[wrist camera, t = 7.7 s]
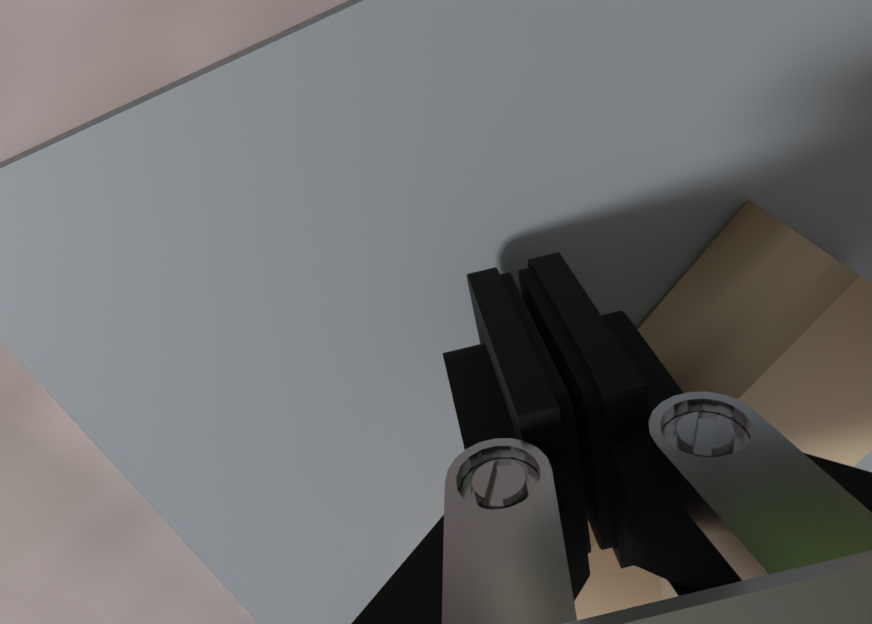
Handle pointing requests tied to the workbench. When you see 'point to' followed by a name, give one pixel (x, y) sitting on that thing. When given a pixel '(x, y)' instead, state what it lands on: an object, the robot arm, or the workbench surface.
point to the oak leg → (759, 357)
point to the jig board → (397, 243)
